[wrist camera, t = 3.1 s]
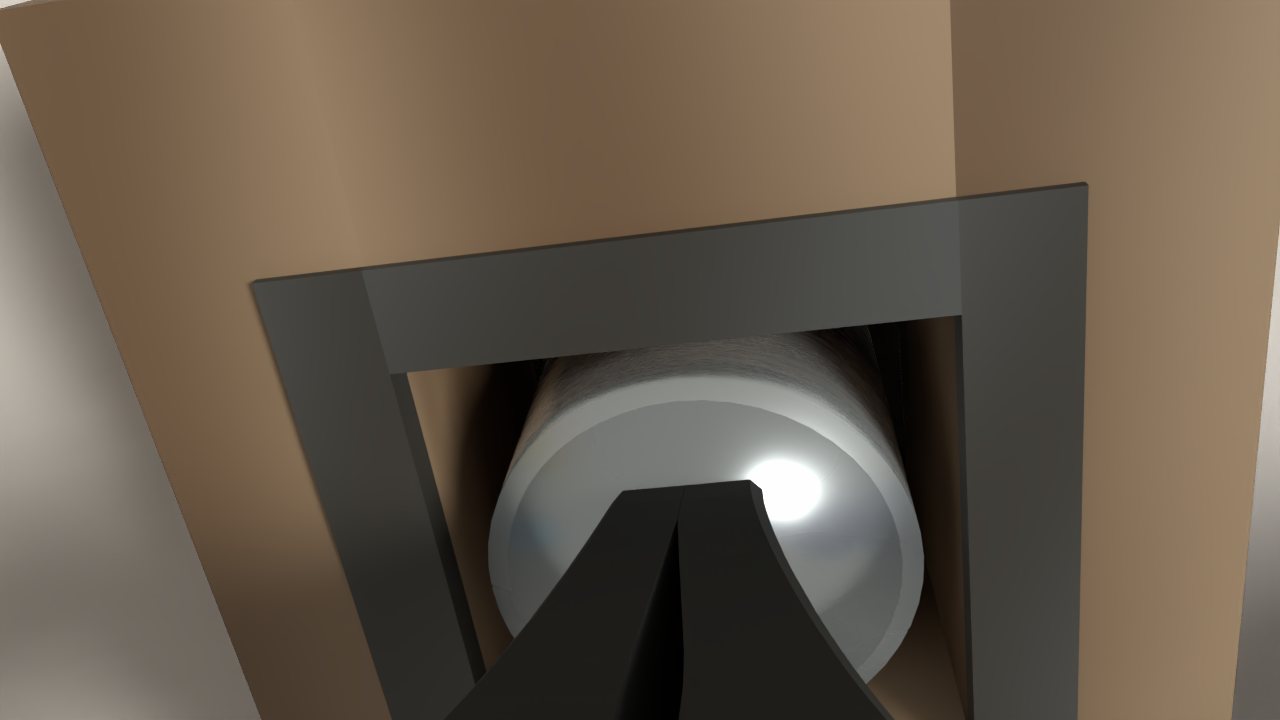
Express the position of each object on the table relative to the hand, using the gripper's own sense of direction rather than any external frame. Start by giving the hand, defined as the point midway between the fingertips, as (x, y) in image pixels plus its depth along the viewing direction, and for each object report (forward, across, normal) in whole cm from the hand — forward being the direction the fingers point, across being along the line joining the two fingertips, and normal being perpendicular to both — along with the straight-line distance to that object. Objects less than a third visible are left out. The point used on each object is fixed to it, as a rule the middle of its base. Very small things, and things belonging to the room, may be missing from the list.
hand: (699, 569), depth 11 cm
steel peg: (+5, 0, 0) cm, 5 cm away
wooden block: (+5, 0, +6) cm, 8 cm away
